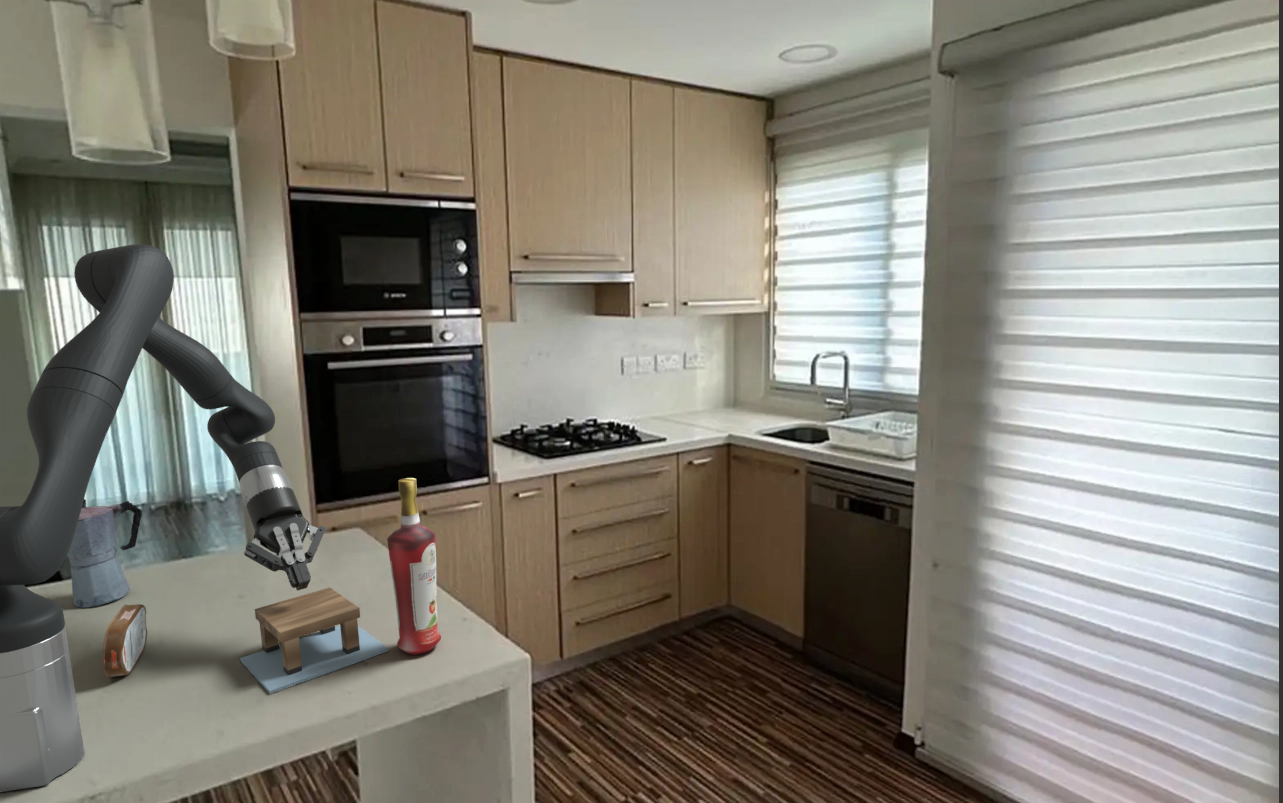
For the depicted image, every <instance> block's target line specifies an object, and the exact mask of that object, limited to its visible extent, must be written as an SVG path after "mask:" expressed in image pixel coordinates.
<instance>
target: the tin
mask: <svg viewBox="0 0 1283 803" xmlns="http://www.w3.org/2000/svg"><path fill="white" fill-rule="evenodd" d="M104 635H105V636H104V638H103V639H104V640H103V644H102V645H103V646H102V665H103V672H104V674H105V675H104V676H106V678H107V679H111V678H115V677H123V676H127V675H130V673H132V671H133V670H134V668H135V666H136V664H137V662H138V661H139V659H140V658H141V656H142V655H143V652H144V650H145V648H146V645H147V644H146V643H147V638H148V628H147V609H146V606H145V605H144V604H142V603H140V604H139V603H138V604H137V603H136V604H123V606H122V607H121V608H120V610H118V612H117V613H116V615H115V616H114V618H113V619H112V620H111V621H110V623H109V624H108V626H107V629H106V631H105V634H104Z"/></svg>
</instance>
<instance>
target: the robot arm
mask: <svg viewBox="0 0 1283 803" xmlns="http://www.w3.org/2000/svg"><path fill="white" fill-rule="evenodd" d="M73 274H74V281H75V284H76V287H77V289H78V291H79V292H80V293H81V295H82V297H83V298H84V299H85V300H86V302H88V303H89V304H90V306H92V307H93V308H94V309H95V310H96V311H97V312H98V314H97V315H96V316H95V317H94V318H93V319H92V321H90V322H89V323H88V324H87V325H86V326H85V327H84V328H83V329H81V331H79V332H78V333H77V334H76V335H75V336H73V337H72V338H71V339H70V340H69V341H67V342H66V343H65V344H64V346H62V347H61V348H60V349H59V350H58V351H57V352H56V354H54V355H53V357H52V358H50V359H49V361H48V363H47V364H46V366H45V368H44V369H43V371H42V373H41V375H40V377H39V379H38V381H37V383H36V385H35V387H34V389H33V391H32V394H31V396H30V399H29V401H28V404H27V408H26V419H27V424H28V427H29V430H30V431H29V432H30V434H31V437H32V441H33V442H34V445H35V449H36V452H37V456H38V468H37V472H36V476H35V479H34V482H33V484H32V487H31V488H30V492H29V493H28V495H27V497H26V498H25V501H24V502H23V503H22V505H19V506H18V505H16V506H15V505H13V506H11V505H10V506H0V793H5V792H10V791H17V790H23V789H30V788H35V787H44V786H47V785H49V784H50V783H51V782H52V781H53V779H56V778H58V777H59V776H61V775H63V774H64V773H66V772H68V771H69V770H70V769H72V768H74V767H75V766H76V765H77V764H78V763H79V762H80V761H81V760H82V759H83V757H84V754H85V747H84V740H83V734H82V729H81V728H82V727H81V722H80V720H81V719H80V714H79V709H78V708H79V707H78V701H77V695H76V688H75V682H74V675H73V674H74V673H73V668H72V662H71V655H70V654H71V653H70V648H69V640H68V633H67V628H66V621H65V615H64V614H65V613H64V610H63V607H62V606H61V605H60V603H58V602H57V601H55V600H53V599H51V598H48V597H45V596H43V595H41V594H37V593H35V592H33V591H32V590H31V589H29V588H28V587H27V586H26V585H35V584H41V583H43V582H46V581H47V580H49V579H50V578H51V577H53V576H55V574H57V572H58V571H59V570H60V569H61V567H62V565H63V564H64V562H65V560H66V559H67V554H68V552H69V549H70V547H71V544H72V541H73V537H74V534H75V530H76V527H77V523H78V520H79V516H80V512H81V508H82V505H83V501H84V499H85V496H86V495H87V494H86V493H87V489H88V486H89V483H90V480H91V476H92V474H93V470H94V467H95V465H96V462H97V460H98V457H99V454H100V452H101V449H102V446H103V443H104V442H105V438H106V436H107V433H108V431H109V429H110V427H111V424H113V421H114V420H115V419H114V418H115V416H116V414H117V411H118V409H119V406H120V403H121V401H122V398H123V396H124V393H125V390H126V388H127V385H128V383H129V382H128V381H129V379H130V377H131V375H132V372H133V370H134V367H135V366H136V363H137V361H138V359H139V357H140V355H141V351H142V349H143V350H144V351H145V352H146V353H148V354H149V355H150V356H151V357H152V358H153V359H154V360H156V361H157V362H158V363H159V364H160V365H162V367H163V368H164V369H165V370H166V371H168V372H169V374H170V376H172V377H173V378H174V379H175V381H176V382H177V383H178V384H179V386H181V388H182V389H183V390H184V391H185V393H187V395H188V396H189V397H190V398H191V399H192V400H193V401H194V403H196V405H197V406H199V407H200V408H202V409H203V410H216V409H220V410H218V411H217V412H214V413H213V414H211V416H210V417H209V418H208V421H207V425H206V426H207V432H208V434H209V436H210V437H211V440H213V441H214V442H215V444H216V445H217V446H218V447H219V448H220V449H221V450H222V451H223V453H224V454H225V456H226V457H227V458H228V460H229V462H230V463H231V465H232V467H233V469H234V471H235V474H236V477H237V479H238V480H237V481H238V483H239V487H240V492H241V496H242V500H243V501H242V502H243V505H244V506H245V508H246V510H247V513H248V516H249V518H250V522H251V524H252V527H253V530H254V535H253V540H252V541H250V542H247V543H246V544H245V549H244V552H243V554H244V556H245V557H247V558H248V559H250V560H252V561H253V562H256V563H258V564H259V565H261V566H263V567H265V568H266V569H268V570H270V571H272V572H278V571H282V572H285V574H286V577H287V579H288V582H289V585H290V587H291V588H292V589H295V590H296V591H301V590H304V589H307V588H308V586H309V584H310V582H311V580H312V579H311V577H312V576H311V574H310V571H309V568H308V566H307V564H310V563H312V561H313V560H314V557H315V555H316V552H317V550H318V548H319V546H320V543H321V542H322V539H323V537H324V535H325V533H326V527H325V526H323V525H320V526H318V527H316V526H313V525H311V524H310V522H309V520H307V519H306V518H305V516H304V515H303V512H302V509H301V506H300V504H299V502H298V499H297V497H296V494H295V491H294V489H293V487H292V484H291V482H290V479H289V477H288V475H287V473H286V472H285V469H284V468H283V465H282V462H281V460H280V457H279V455H278V452H277V450H276V448H275V447H274V445H273V444H271V443H270V442H268V441H265V440H263V441H262V440H259V441H258V440H257V441H253V440H255V439H257V438H260V437H262V436H263V435H266V434H267V433H269V432H270V431H272V430H273V429H274V427H275V424H276V417H275V416H276V415H275V413H274V410H273V409H272V408H271V406H270V405H269V404H268V403H267V402H266V400H264V399H262V398H261V397H260V396H258V395H256V394H255V393H254V392H252V391H251V390H249V389H248V388H246V387H245V386H243V385H242V384H241V383H240V382H238V380H236V379H235V378H234V377H233V375H232V374H231V373H230V372H229V370H228V369H227V368H226V367H225V365H224V364H223V363H222V362H221V361H220V359H219V358H218V357H217V356H216V355H215V353H214V352H213V351H211V350H210V349H209V348H208V347H206V346H205V345H203V343H200V342H199V341H198V340H196V339H194V338H192V337H191V336H189V335H187V334H186V333H184V332H182V331H180V330H178V329H177V328H176V327H173V326H172V325H170V324H169V323H168V322H166V321H165V320H163V319H162V318H160V315H161V313H162V312H163V310H164V309H165V308H166V306H167V303H168V301H169V299H170V297H171V295H172V291H173V288H174V282H175V281H174V280H175V277H174V276H175V275H174V274H175V273H174V269H173V266H172V263H171V261H170V259H169V257H168V256H167V255H166V253H165V252H164V251H162V250H161V249H160V248H158V247H156V246H154V245H151V244H150V245H149V244H139V243H137V244H128V245H122V246H116V247H111V248H110V247H109V248H105V249H100V250H97V251H96V250H95V251H92V252H88V253H86V254H84V255H83V256H81V257H80V258H79V259H78V260H77V262H76V265H75V267H74V272H73ZM307 534H308V539H309V540H310V541H311V543H310V545H309V547H308V549H307V551H306V552H304V545H303V544H304V541H305V538H306V537H307ZM273 553H274V554H273Z"/></svg>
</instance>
